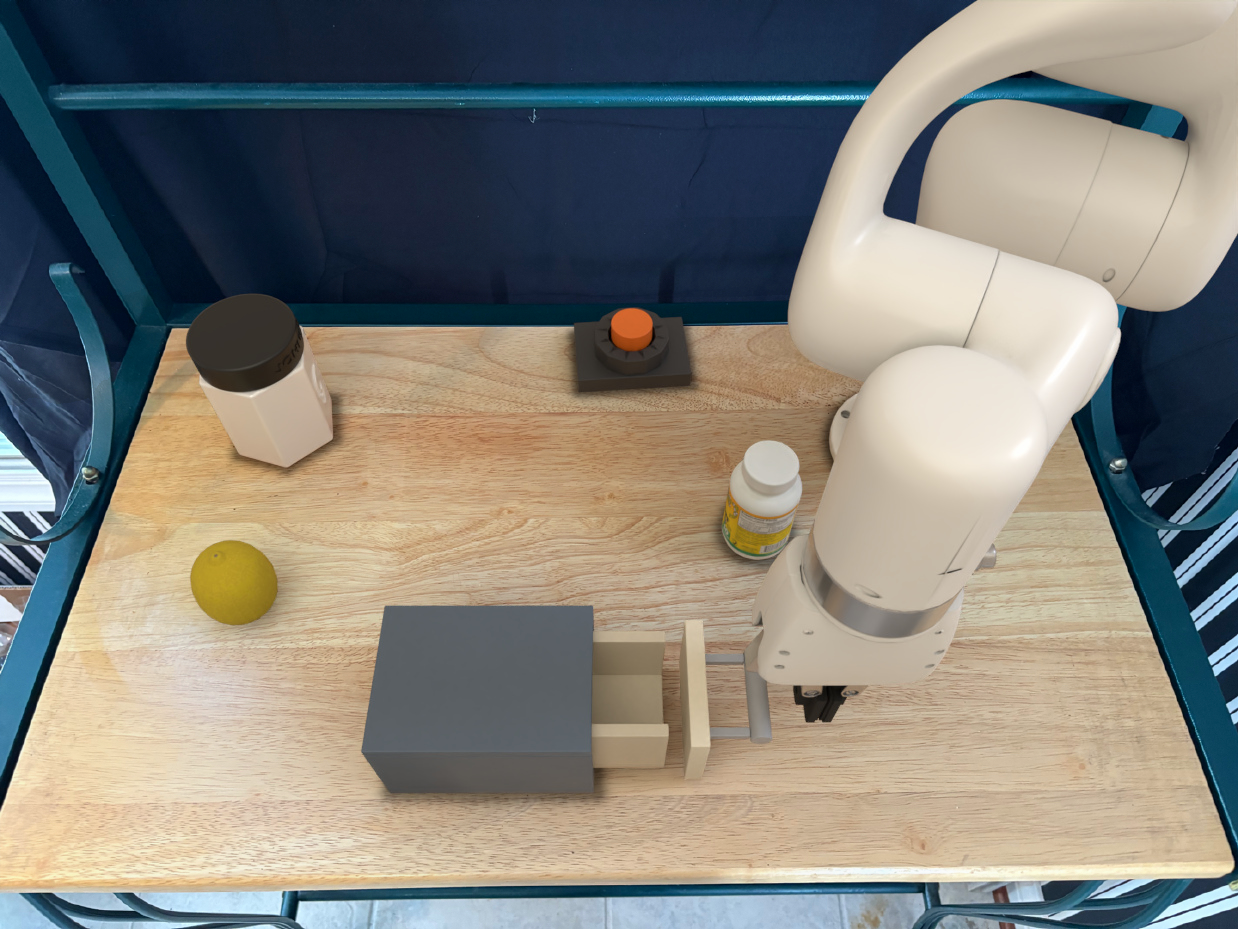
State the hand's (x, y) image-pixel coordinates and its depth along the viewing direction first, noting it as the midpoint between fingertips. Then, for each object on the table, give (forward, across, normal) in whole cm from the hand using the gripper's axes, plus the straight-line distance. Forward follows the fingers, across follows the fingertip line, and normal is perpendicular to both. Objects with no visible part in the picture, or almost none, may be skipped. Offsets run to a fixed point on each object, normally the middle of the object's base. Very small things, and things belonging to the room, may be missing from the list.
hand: (814, 700), depth 59 cm
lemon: (+5, +40, -9) cm, 42 cm away
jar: (+5, +41, -26) cm, 49 cm away
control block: (+5, +11, -34) cm, 36 cm away
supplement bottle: (+5, +2, -16) cm, 17 cm away
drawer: (+4, +11, 0) cm, 12 cm away
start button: (+1, +11, -34) cm, 36 cm away
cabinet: (+5, +21, 0) cm, 22 cm away
